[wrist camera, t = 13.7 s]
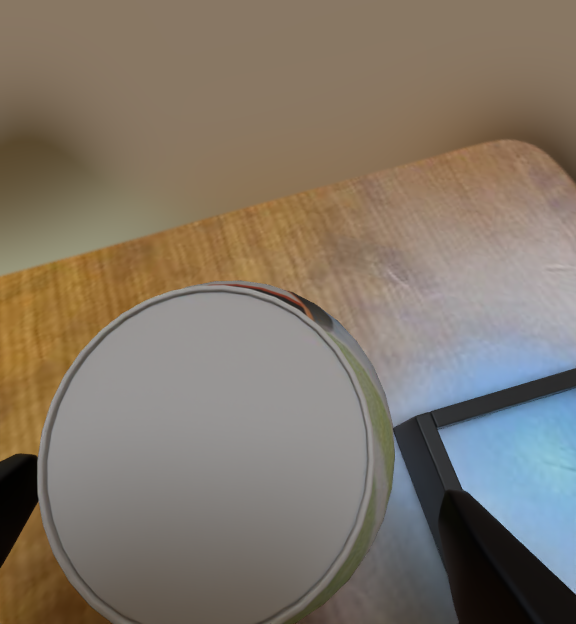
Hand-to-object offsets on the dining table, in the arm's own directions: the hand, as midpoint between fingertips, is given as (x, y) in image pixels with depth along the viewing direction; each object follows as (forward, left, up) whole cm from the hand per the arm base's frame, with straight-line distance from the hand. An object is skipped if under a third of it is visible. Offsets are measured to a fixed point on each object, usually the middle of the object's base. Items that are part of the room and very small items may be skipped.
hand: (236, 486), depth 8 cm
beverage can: (+1, -1, -8) cm, 8 cm away
